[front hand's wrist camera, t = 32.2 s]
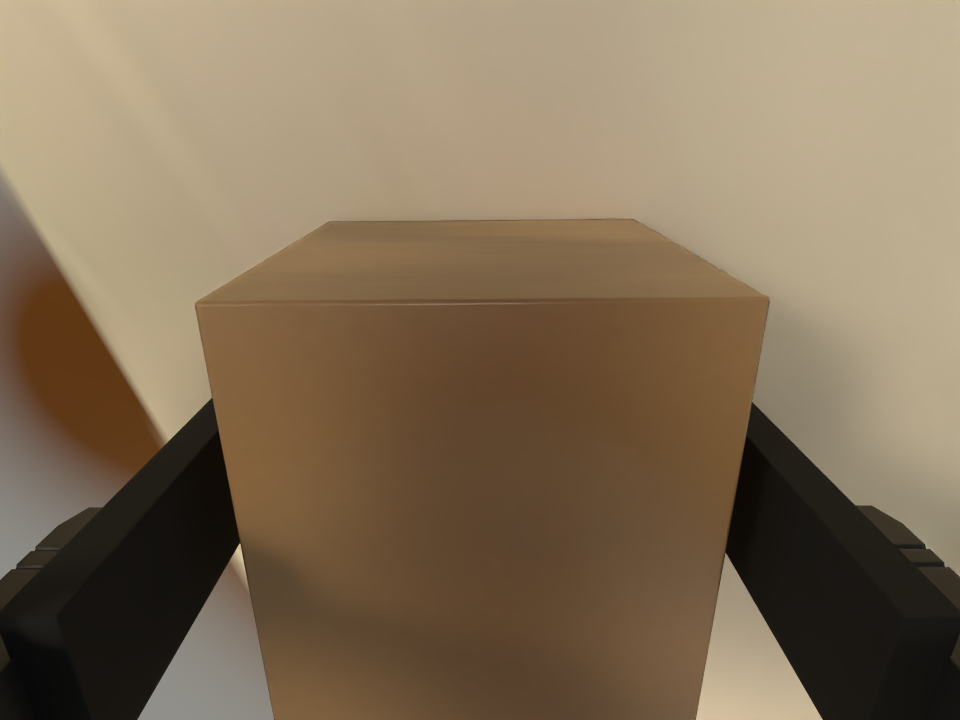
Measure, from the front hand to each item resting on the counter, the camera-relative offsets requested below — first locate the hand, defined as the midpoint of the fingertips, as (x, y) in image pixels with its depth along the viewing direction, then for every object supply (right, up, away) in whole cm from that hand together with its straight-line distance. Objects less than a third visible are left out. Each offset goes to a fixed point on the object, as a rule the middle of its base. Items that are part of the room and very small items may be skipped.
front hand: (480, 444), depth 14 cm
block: (0, +1, +3) cm, 4 cm away
